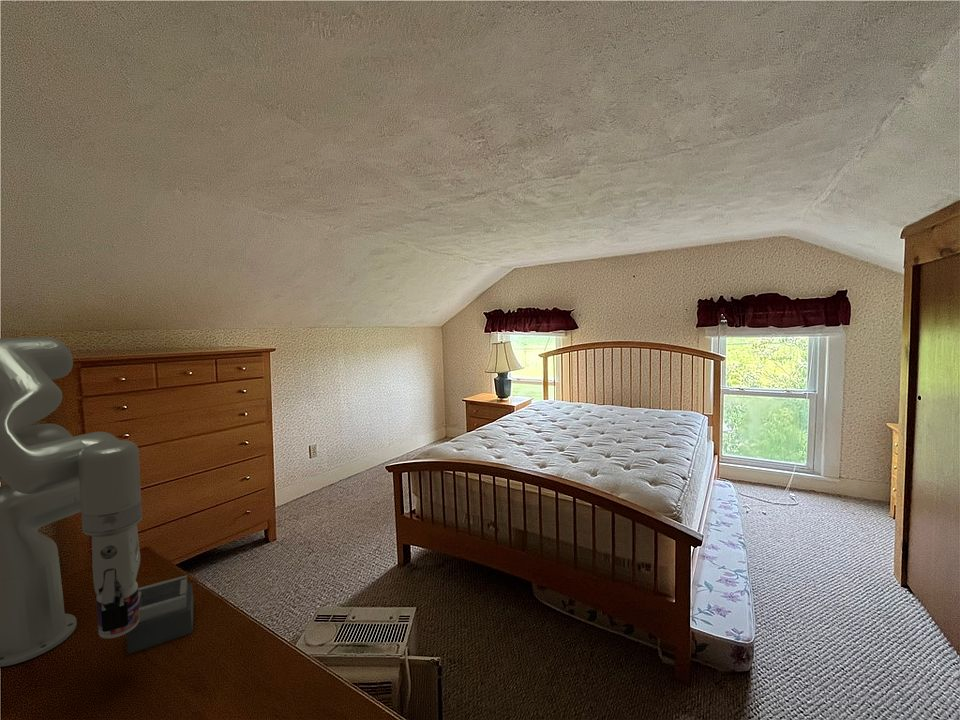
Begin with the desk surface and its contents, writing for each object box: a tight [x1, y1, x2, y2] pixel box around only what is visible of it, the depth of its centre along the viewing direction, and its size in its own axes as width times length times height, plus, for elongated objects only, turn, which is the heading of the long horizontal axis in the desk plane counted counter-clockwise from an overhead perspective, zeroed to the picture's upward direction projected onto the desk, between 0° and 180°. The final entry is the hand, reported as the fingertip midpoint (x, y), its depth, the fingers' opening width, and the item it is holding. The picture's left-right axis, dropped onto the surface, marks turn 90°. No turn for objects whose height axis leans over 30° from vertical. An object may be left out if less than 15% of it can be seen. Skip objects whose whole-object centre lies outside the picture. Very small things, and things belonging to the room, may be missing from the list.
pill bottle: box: [96, 581, 139, 639], centre depth 72 cm, size 5×5×10 cm
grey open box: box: [125, 574, 195, 655], centre depth 85 cm, size 10×10×8 cm
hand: (118, 615), depth 72 cm, fingers closed on pill bottle, 5 cm apart
